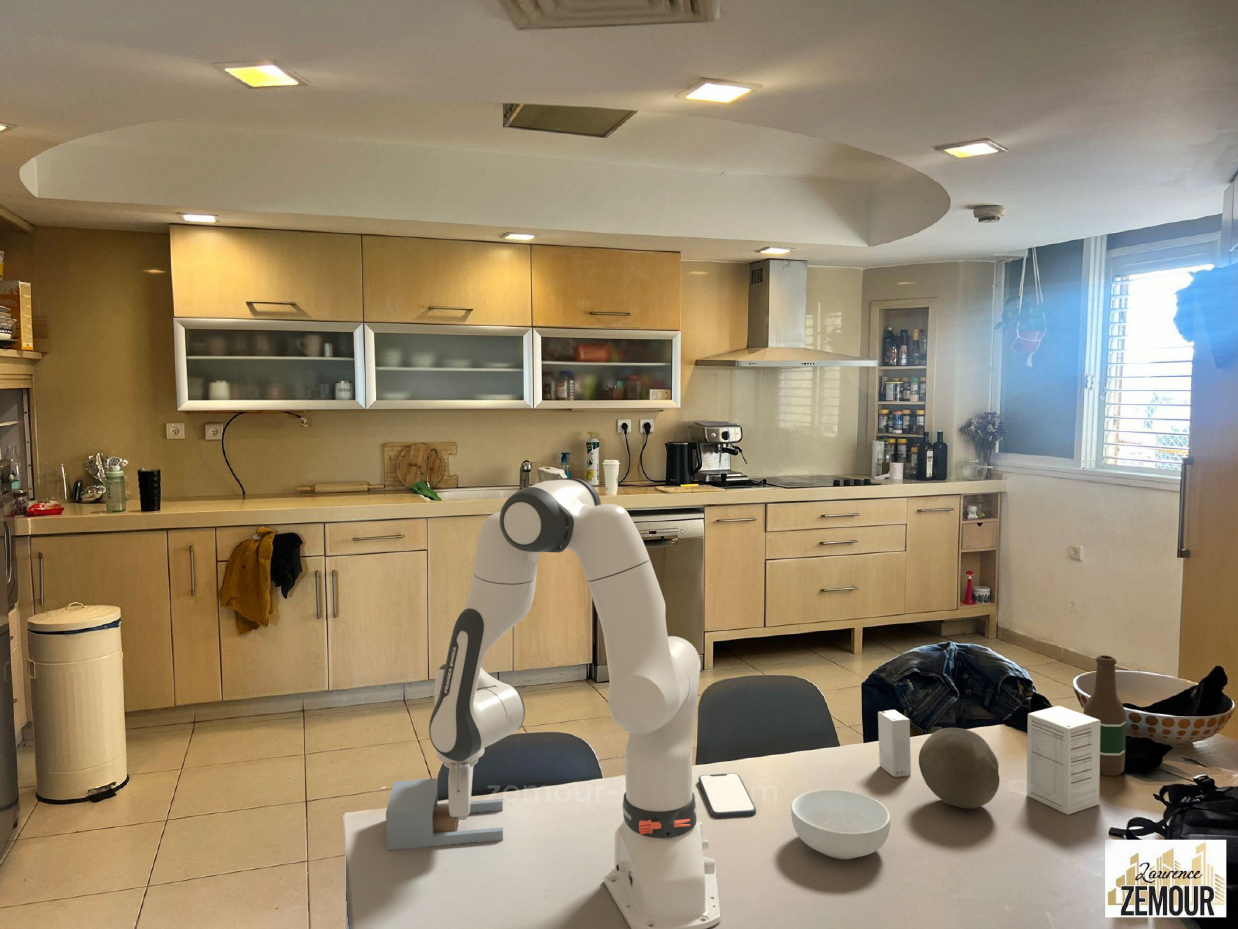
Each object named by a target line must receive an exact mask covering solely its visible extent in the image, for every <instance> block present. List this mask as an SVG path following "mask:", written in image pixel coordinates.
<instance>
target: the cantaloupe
mask: <svg viewBox="0 0 1238 929" xmlns="http://www.w3.org/2000/svg"><path fill="white" fill-rule="evenodd" d="M918 753H919V754H918V766H919V770H920V773H921V776H922V777H923V778H922V779H923V780H924V783H925V785H926V786H927V788H929V789H930V791H931V792H932V793H933V794H934V795H935V796H936V797H938V799H941V801H942V802H944V803H945V804H947V805H949V806H952V807H955V808H960V809H961V808H962V809H968V810H969V809H971V810H972V809H977V808H980V807H983V806H985V805H986V804H988V803H990V802H991V801H992V800H993V798H995V796H996V794H997V792H998V789H999V786H1000V774H999V761H998V758H997V757H996V755H995V752H994V751H993V750H992V749H991V747H990V745H989V744H988V743H987V741H985V739H984V738H983V737H982V736H980V734H977V733H976V732H974V731H972V730H969V729H967V728H961V727H959V728H958V727H945V728H940V729H938V730H936V731H934V732H933V733H931V734H930V736H929V737H928V738H926V740H925V741H924V742H923V744H922V746H921V748H920V750H919V752H918Z"/></svg>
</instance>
